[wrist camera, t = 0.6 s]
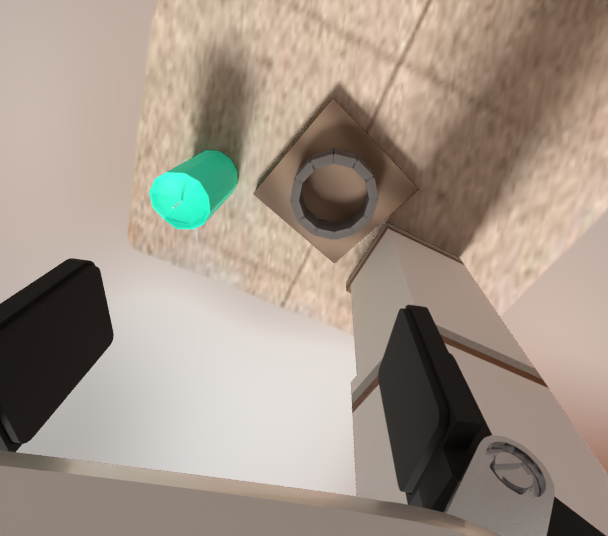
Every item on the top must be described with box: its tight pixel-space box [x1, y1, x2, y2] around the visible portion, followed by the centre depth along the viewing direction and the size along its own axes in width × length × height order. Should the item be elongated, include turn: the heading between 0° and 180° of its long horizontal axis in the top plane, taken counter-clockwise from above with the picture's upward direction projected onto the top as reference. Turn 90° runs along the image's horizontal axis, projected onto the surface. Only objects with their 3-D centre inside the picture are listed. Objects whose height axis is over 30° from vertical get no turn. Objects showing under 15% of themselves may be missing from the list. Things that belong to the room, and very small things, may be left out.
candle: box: [149, 150, 238, 229], centre depth 35 cm, size 6×6×12 cm
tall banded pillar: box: [346, 222, 608, 536], centre depth 30 cm, size 11×11×35 cm
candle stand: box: [253, 98, 419, 263], centre depth 38 cm, size 14×14×4 cm
